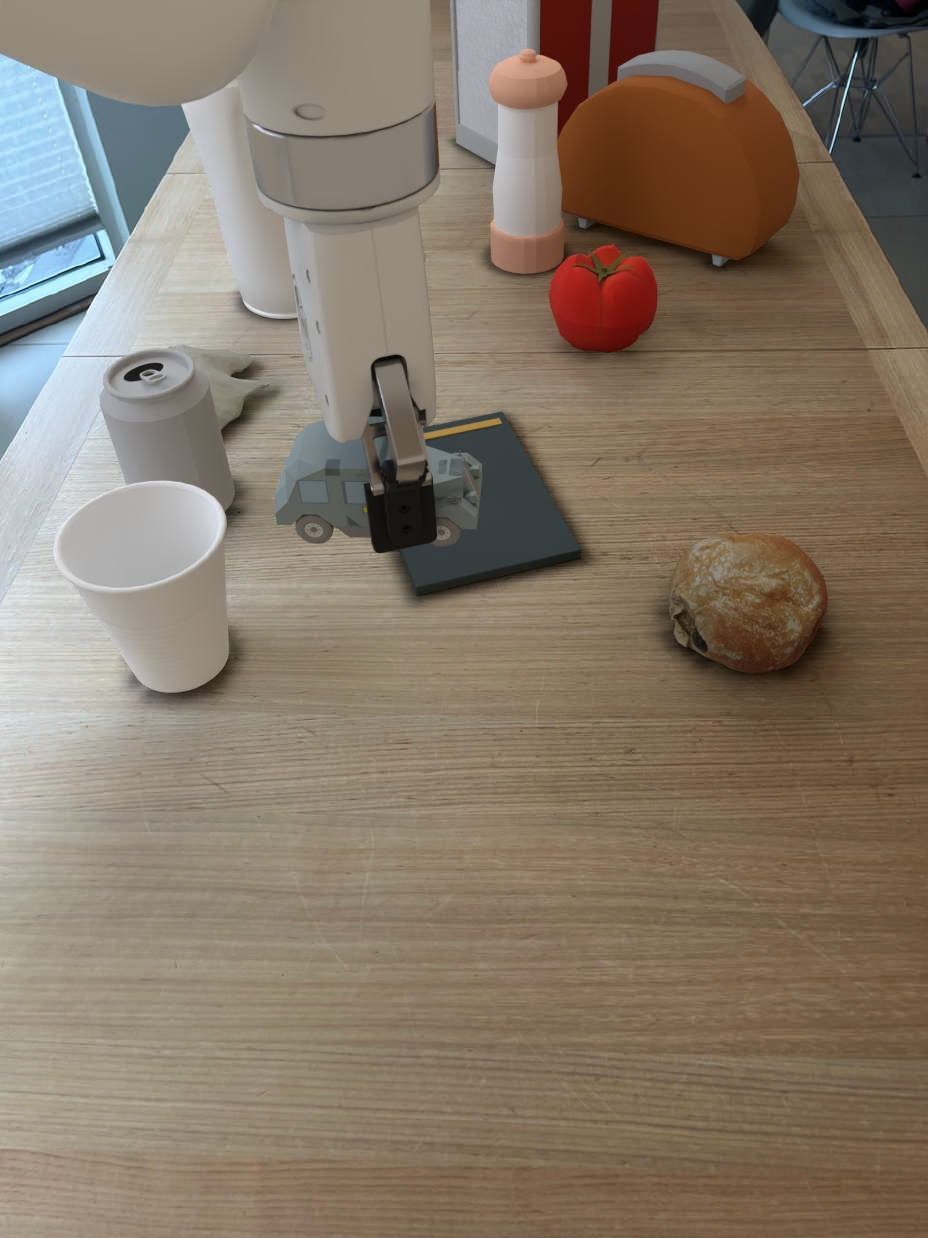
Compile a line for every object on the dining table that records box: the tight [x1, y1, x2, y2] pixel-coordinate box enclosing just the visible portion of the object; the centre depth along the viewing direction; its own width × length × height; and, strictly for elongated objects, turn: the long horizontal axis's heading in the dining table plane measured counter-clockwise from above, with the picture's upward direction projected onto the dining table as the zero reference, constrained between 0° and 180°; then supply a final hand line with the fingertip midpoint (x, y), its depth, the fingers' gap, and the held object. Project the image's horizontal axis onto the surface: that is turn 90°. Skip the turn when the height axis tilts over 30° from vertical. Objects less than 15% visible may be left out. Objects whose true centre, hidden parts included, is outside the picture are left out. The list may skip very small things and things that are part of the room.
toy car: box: [274, 417, 483, 547], centre depth 54 cm, size 6×10×5 cm, turn 86°
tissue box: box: [449, 0, 663, 166], centre depth 117 cm, size 16×18×27 cm
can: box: [99, 347, 236, 513], centre depth 77 cm, size 8×8×12 cm
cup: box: [52, 481, 230, 694], centre depth 66 cm, size 10×10×11 cm
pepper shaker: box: [488, 49, 567, 275], centre depth 100 cm, size 7×7×19 cm
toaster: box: [557, 49, 801, 267], centre depth 104 cm, size 23×9×17 cm, turn 53°
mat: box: [398, 411, 582, 596], centre depth 80 cm, size 12×18×1 cm, turn 16°
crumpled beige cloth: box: [167, 344, 271, 431], centre depth 89 cm, size 12×3×15 cm
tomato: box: [548, 244, 659, 354], centre depth 93 cm, size 9×9×8 cm
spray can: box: [180, 77, 298, 320], centre depth 95 cm, size 12×11×25 cm
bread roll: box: [668, 532, 829, 675], centre depth 68 cm, size 10×10×8 cm
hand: (385, 491), depth 55 cm, fingers closed on toy car, 7 cm apart
